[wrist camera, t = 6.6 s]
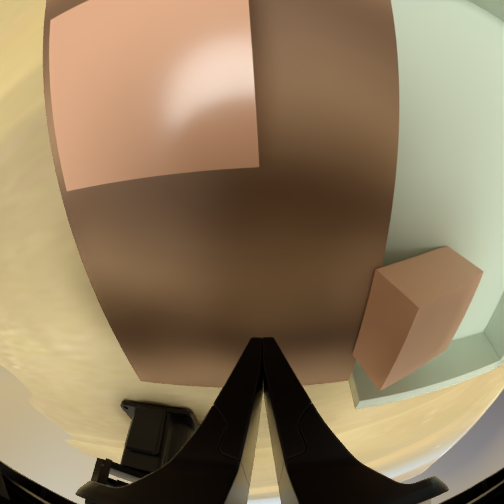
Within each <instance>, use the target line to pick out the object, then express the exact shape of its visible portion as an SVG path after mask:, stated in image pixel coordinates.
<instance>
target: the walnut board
mask: <svg viewBox="0 0 504 504" xmlns="http://www.w3.org/2000/svg"><path fill="white" fill-rule="evenodd" d="M86 1H88V0H47V1H46V9H45V19H44V35H43V79H44V95H45V107H46V116H47V124H48V131H49V138H50V144H51V150H52V155H53V160H54V165H55V170H56V175H57V179H58V183H59V187H60V191H61V195H62V199H63V203H64V207H65V210H66V214H67V217H68V220H69V224H70V227H71V230H72V233H73V236H74V239H75V242H76V245H77V248H78V251H79V254H80V256H81V259H82V262H83V264H84V267H85V270H86V272H87V275H88V277H89V280H90V282H91V284H92V287H93V289H94V292H95V294H96V296H97V298H98V301H99V303H100V305H101V307H102V310H103V312H104V314H105V316H106V318H107V320H108V322H109V324H110V326H111V328H112V330H113V332H114V334H115V336H116V338H117V340H118V342H119V344H120V346H121V348H122V349H123V351H124V353H125V355H126V357H127V358H128V360H129V362H130V364H131V365H132V367H133V369H134V371H135V372H136V374H137V376H138V377H139V379H140V381H144V382H153V383H162V384H173V385H186V386H203V387H224V385H225V383H226V381H227V380H228V378H229V376H230V374H231V372H232V371H233V369H234V367H235V365H236V363H237V362H238V360H239V358H240V356H241V354H242V353H243V351H244V349H245V347H246V345H247V344H248V342H249V340H250V338H252V337H261V338H263V337H274V338H275V340H276V342H277V344H278V345H279V347H280V349H281V351H282V352H283V354H284V356H285V357H286V359H287V361H288V363H289V364H290V366H291V368H292V369H293V371H294V373H295V375H296V376H297V378H298V380H299V381H300V383H301V385H311V384H321V383H331V382H339V381H347V380H349V379H350V376H351V374H352V371H353V368H354V365H355V362H356V359H355V358H354V356H353V355H352V354H353V351H354V348H355V344H356V341H357V338H358V335H359V331H360V328H361V324H362V321H363V317H364V314H365V310H366V306H367V303H368V299H369V295H370V291H371V286H372V282H373V278H374V273H375V269H378V268H381V267H382V263H383V258H384V253H385V248H386V243H387V237H388V231H389V225H390V219H391V212H392V205H393V197H394V188H395V179H396V169H397V156H398V140H399V70H398V54H397V43H396V33H395V25H394V17H393V11H392V4H391V0H249V5H250V18H251V31H252V45H253V60H254V75H255V90H256V106H257V123H258V140H259V167H252V168H235V169H221V170H208V171H197V172H187V173H178V174H169V175H161V176H153V177H146V178H139V179H132V180H126V181H119V182H113V183H107V184H102V185H96V186H91V187H86V188H81V189H76V190H71V191H67V190H66V186H65V182H64V177H63V173H62V168H61V163H60V158H59V153H58V147H57V141H56V135H55V128H54V121H53V112H52V102H51V90H50V72H49V37H50V20H52V19H53V18H55V17H57V16H59V15H60V14H62V13H64V12H66V11H68V10H70V9H72V8H74V7H76V6H78V5H80V4H82V3H84V2H86Z"/></svg>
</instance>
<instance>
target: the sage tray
mask: <svg viewBox="0 0 504 504" xmlns="http://www.w3.org/2000/svg"><path fill="white" fill-rule="evenodd" d="M391 4H392V11H393V17H394V25H395V33H396V43H397V54H398V70H399V140H398V156H397V169H396V179H395V188H394V197H393V205H392V212H391V219H390V225H389V231H388V237H387V243H386V248H385V253H384V258H383V263H382V267H384V266H388V265H391V264H394V263H397V262H400V261H403V260H406V259H409V258H412V257H416V256H419V255H421V254H424V253H427V252H430V251H433V250H436V249H439V248H442V247H445V246H448V247H449V248H451V249H452V250H454V251H455V252H457V253H458V254H460V255H461V256H463V257H464V258H466V259H467V260H468V261H470V262H471V263H473V264H474V265H475V266H477V267H478V268H480V269H481V270H482V271H484V272H483V275H482V278H481V280H480V283H479V285H478V287H477V290H476V292H475V294H474V297H473V299H472V301H471V303H470V305H469V308H468V310H467V312H466V314H465V316H464V318H463V320H462V322H461V324H460V326H459V328H458V330H457V331H456V333H455V335H454V337H453V339H452V341H451V342H450V344H449V346H448V348H447V349H446V350H445V351H443V352H442V353H441V354H439V355H438V356H436V357H435V358H433V359H432V360H430V361H429V362H428V363H426V364H424V365H423V366H421V367H420V368H418V369H417V370H415V371H414V372H412V373H410V374H409V375H407V376H405V377H404V378H402V379H400V380H399V381H397V382H395V383H394V384H392V385H390V386H388V387H386V388H385V389H383V390H381V391H379V390H378V388H377V387H376V386H375V384H374V383H373V382H372V380H371V379H370V378H369V376H368V375H367V374H366V372H365V371H364V370H363V368H362V367H361V366H360V364H359V363H358V362H357V360H356V362H355V365H354V368H353V371H352V374H351V376H350V379H349V384H350V388H351V393H352V397H353V401H354V406H355V409H361V408H367V407H372V406H377V405H382V404H387V403H391V402H396V401H400V400H404V399H408V398H412V397H416V396H419V395H423V394H426V393H430V392H433V391H436V390H440V389H443V388H446V387H449V386H452V385H455V384H458V383H460V382H463V381H466V380H469V379H471V378H474V377H476V376H479V375H481V374H484V373H486V372H488V371H491V370H493V369H495V368H498V367H500V366H502V364H503V363H504V0H391Z"/></svg>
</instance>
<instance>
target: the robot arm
mask: <svg viewBox="0 0 504 504" xmlns="http://www.w3.org/2000/svg"><path fill="white" fill-rule="evenodd" d="M263 390H264V399H265V405H266V411H267V418H268V424H269V431H270V437H271V443H272V450H273V456H274V462H275V468H276V474H277V480H278V486H279V493H280V499H281V504H431V498H433V497H436V496H438V495H440V494H442V493H444V492H447V491H448V490H449V489H448V487H447V486H446V485H445V483H443V482H442V481H441V480H440V479H438V478H437V477H435V476H434V477H430V478H427V479H424V480H422V481H419V482H416V483H413V484H402V483H399V482H396V481H394V480H392V479H390V478H388V477H386V476H384V475H382V474H380V473H378V472H376V471H375V470H373V469H371V468H369V467H367V466H365V465H364V464H362V463H361V462H359V461H358V460H357V459H356V458H355V457H354V456H353V455H352V454H351V453H350V452H349V451H348V450H347V449H346V447H345V446H344V445H343V444H342V443H341V442H340V440H339V439H338V438H337V437H336V436H335V435H334V433H333V432H332V431H331V430H330V428H329V427H328V426H327V424H326V423H325V422H324V420H323V419H322V417H321V416H320V414H319V413H318V411H317V410H316V408H315V406H314V405H313V404H311V403H312V402H311V400H310V398H309V397H308V395H307V393H306V392H305V390H304V388H303V386H302V385H301V383H300V381H299V380H298V378H297V376H296V375H295V373H294V371H293V369H292V368H291V366H290V364H289V363H288V361H287V359H286V357H285V356H284V354H283V352H282V351H281V349H280V347H279V345H278V344H277V342H276V340H275V338H274V337H263V338H261V337H252V338H250V340H249V342H248V344H247V345H246V347H245V349H244V351H243V353H242V354H241V356H240V358H239V360H238V362H237V363H236V365H235V367H234V369H233V371H232V372H231V374H230V376H229V378H228V380H227V381H226V383H225V385H224V387H223V388H222V390H221V392H220V394H219V395H218V397H217V399H216V400H215V402H214V404H213V405H214V406H212V407H211V409H210V410H209V412H208V414H207V415H206V417H205V418H204V420H203V422H202V423H201V424H200V426H199V425H198V423H197V421H196V420H195V418H194V416H193V414H192V412H191V411H189V410H185V409H176V408H167V407H159V406H151V405H144V404H138V403H132V402H126V401H122V402H121V405H120V406H121V407H122V409H123V410H124V411H125V412H126V413H127V414H128V416H129V417H130V418H131V419H132V421H131V424H130V428H129V431H128V435H127V439H126V442H125V448H124V452H123V456H122V460H121V464H117V463H115V462H112V460H110V459H107V458H106V460H104V459H100V458H97V461H96V464H95V468H94V472H93V475H92V478H91V481H89V482H87V483H86V484H84V485H83V486H82V487H80V489H78V491H77V492H76V495H77V496H80V497H82V498H85V504H247V500H248V493H249V487H250V481H251V474H252V468H253V461H254V455H255V448H256V441H257V434H258V427H259V419H260V412H261V404H262V396H263ZM109 474H111V475H114V476H117V477H119V478H123V479H125V480H128V481H131V482H133V483H131V484H128V483H125V482H122V481H119V480H117V481H116V480H114V479H111V478H108V476H109ZM0 504H77V503H75V502H73V501H70V500H69V499H67V498H65V497H63V496H60V495H59V494H57V493H55V492H53V491H51V490H49V489H47V488H45V487H43V486H41V485H40V484H38V483H36V482H34V481H33V480H31V479H29V478H27V477H26V476H24V475H22V474H20V473H18V472H17V471H16V470H14V469H12V468H11V467H9V466H8V465H6V464H5V463H3V462H2V461H0ZM439 504H504V468H502V469H500V470H499V471H497V472H496V473H494V474H492V475H491V476H489V477H488V478H486V479H484V480H483V481H481V482H479V483H477V484H475V485H474V486H472V487H470V488H468V489H467V490H465V491H463V492H461V493H459V494H457V495H455V496H453V497H451V498H450V499H447V500H445V501H443V502H441V503H439Z"/></svg>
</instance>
